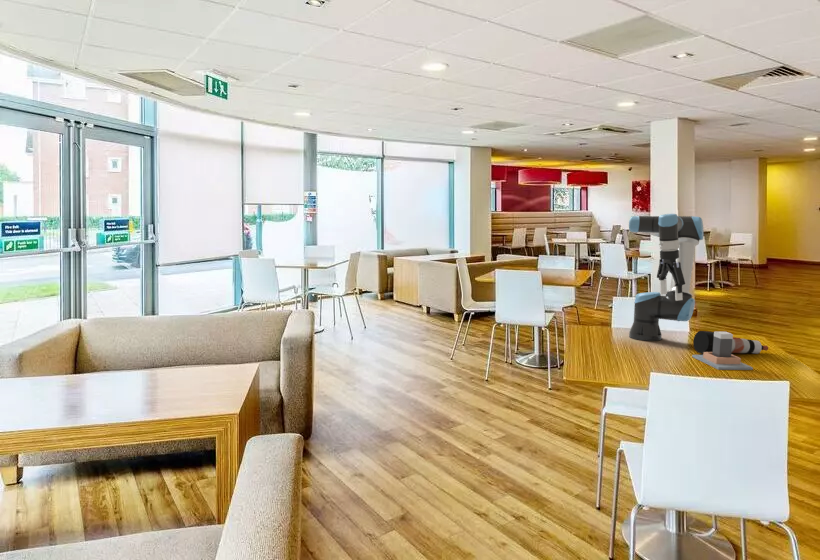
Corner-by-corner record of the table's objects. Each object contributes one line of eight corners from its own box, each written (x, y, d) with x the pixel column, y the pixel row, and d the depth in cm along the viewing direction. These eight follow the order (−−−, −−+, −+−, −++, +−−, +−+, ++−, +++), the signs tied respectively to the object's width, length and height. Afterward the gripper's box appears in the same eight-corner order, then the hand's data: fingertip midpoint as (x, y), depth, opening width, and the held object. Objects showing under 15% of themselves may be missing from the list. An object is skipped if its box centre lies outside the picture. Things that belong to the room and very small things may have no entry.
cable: (767, 363, 250) (779, 346, 244) (701, 358, 244) (712, 340, 239) (754, 349, 258) (765, 332, 253) (690, 343, 252) (700, 326, 247)
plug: (712, 359, 235) (714, 331, 233) (723, 359, 235) (725, 331, 233) (718, 362, 230) (721, 334, 228) (730, 362, 230) (732, 334, 228)
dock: (692, 356, 242) (692, 349, 242) (723, 357, 242) (724, 349, 242) (718, 369, 222) (718, 361, 222) (752, 369, 222) (753, 361, 222)
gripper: (647, 247, 253) (649, 292, 256) (675, 254, 228) (677, 303, 232) (663, 245, 253) (665, 290, 256) (693, 251, 228) (694, 301, 232)
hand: (671, 297), depth 244 cm, fingers open, 13 cm apart
